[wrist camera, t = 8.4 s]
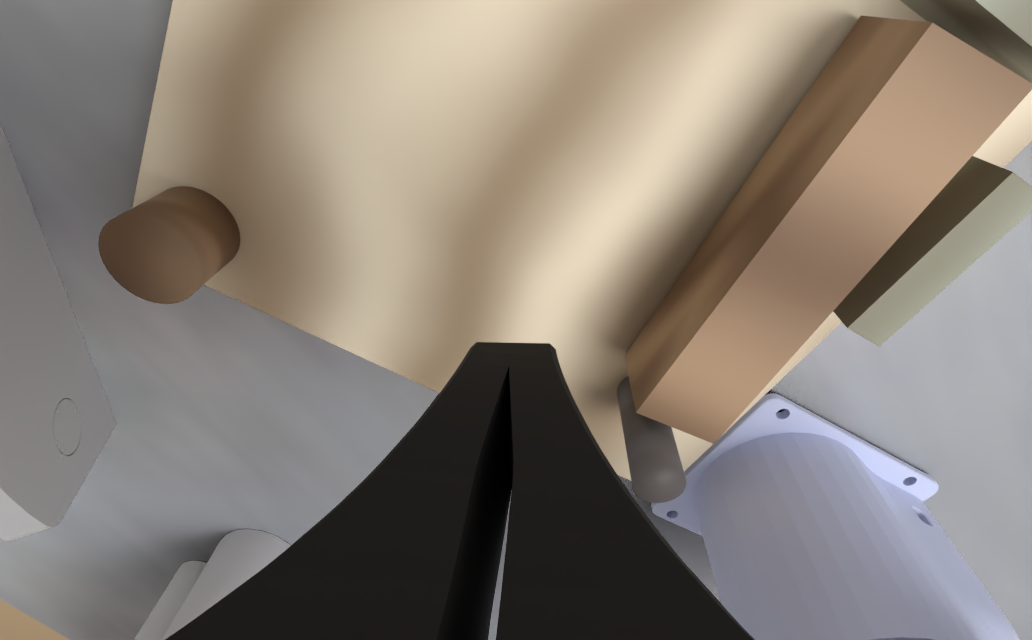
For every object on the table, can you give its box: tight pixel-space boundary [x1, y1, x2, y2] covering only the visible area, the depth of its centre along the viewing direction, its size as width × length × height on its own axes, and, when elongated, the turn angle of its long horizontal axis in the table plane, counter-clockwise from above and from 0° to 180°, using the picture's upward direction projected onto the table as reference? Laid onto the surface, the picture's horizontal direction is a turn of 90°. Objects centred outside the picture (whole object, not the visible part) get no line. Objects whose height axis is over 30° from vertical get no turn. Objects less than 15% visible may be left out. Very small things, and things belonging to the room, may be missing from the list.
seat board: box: [99, 0, 1032, 503], centre depth 14 cm, size 22×22×6 cm
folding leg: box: [625, 16, 1032, 444], centre depth 16 cm, size 12×3×3 cm, turn 156°
